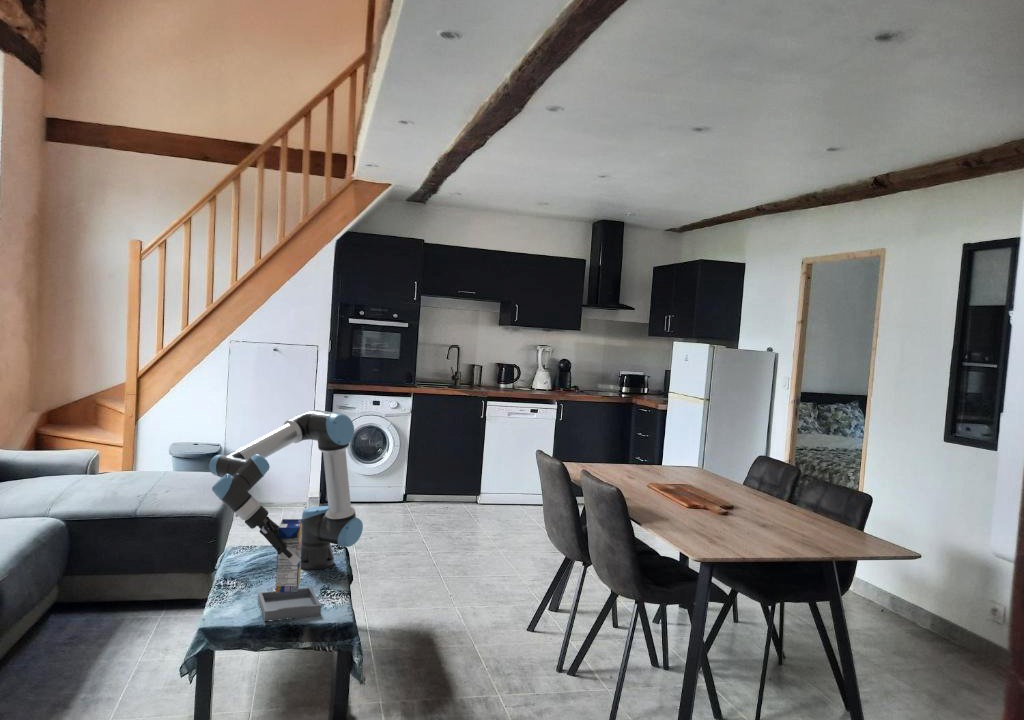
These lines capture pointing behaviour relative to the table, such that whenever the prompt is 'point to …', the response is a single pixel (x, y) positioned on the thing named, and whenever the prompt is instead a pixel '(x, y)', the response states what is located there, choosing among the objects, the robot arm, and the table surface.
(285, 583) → the beverage box
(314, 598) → the tray
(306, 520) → the robot arm
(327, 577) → the table surface
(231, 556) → the table surface
